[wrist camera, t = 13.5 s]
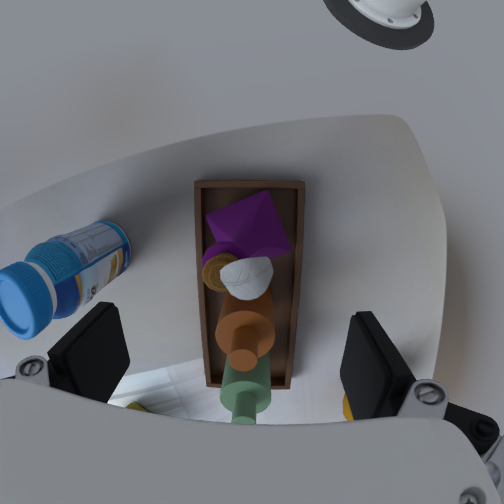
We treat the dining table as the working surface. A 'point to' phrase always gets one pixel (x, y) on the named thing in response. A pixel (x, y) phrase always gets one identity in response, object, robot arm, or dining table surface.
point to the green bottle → (246, 390)
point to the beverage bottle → (61, 276)
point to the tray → (282, 282)
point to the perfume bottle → (244, 246)
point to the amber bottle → (246, 329)
